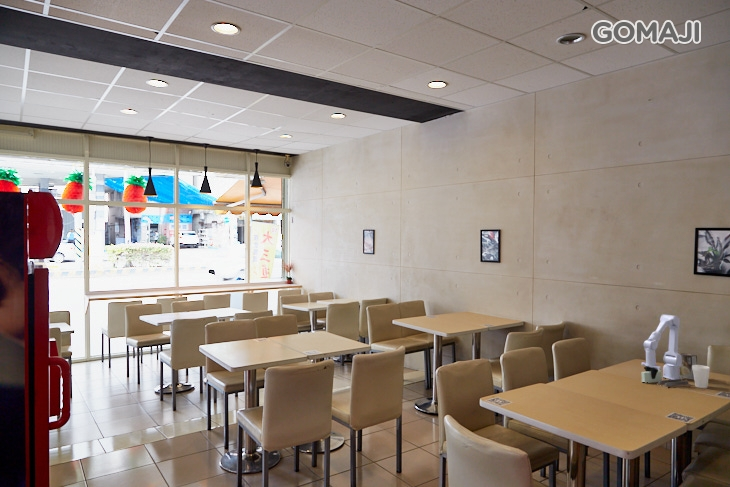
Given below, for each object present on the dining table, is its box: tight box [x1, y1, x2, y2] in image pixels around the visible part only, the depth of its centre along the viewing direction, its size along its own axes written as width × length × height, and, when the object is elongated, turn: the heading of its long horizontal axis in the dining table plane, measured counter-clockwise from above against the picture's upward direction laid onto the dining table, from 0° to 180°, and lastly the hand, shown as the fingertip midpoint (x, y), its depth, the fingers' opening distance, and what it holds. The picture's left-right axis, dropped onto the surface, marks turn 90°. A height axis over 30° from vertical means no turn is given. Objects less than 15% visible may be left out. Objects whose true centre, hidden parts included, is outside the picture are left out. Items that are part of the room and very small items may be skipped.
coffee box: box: [679, 352, 698, 381], centre depth 323 cm, size 9×6×16 cm
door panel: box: [640, 370, 663, 384], centre depth 315 cm, size 2×14×7 cm, turn 103°
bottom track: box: [656, 379, 691, 388], centre depth 307 cm, size 9×18×3 cm, turn 103°
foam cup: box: [692, 364, 710, 389], centre depth 302 cm, size 10×9×13 cm
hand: (651, 378), depth 315 cm, fingers closed on door panel, 2 cm apart
